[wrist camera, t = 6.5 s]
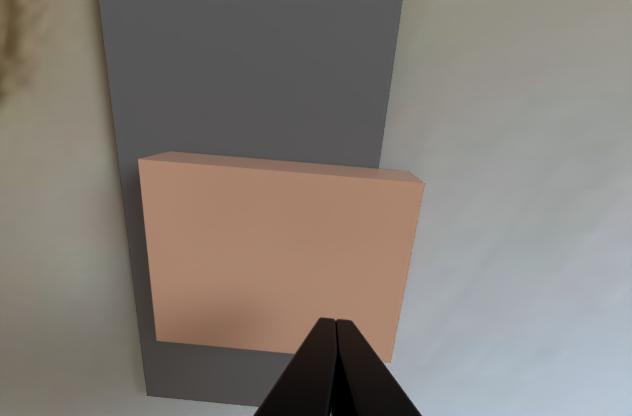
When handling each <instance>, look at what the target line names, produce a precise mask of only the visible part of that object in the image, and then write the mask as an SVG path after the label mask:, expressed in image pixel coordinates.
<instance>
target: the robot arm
mask: <svg viewBox="0 0 632 416" xmlns="http://www.w3.org/2000/svg"><path fill="white" fill-rule="evenodd" d="M330 413H331V416H422V415H421V414H420V412H419V411H418V410H417V408H416V407H415V406H414V404H413V403H412V401H411V400H410V399H409V397H408V396H407V395H406V393H405V392H404V391H403V389H402V388H401V386H400V385H399V384H398V382H397V381H396V380H395V378H394V377H393V376H392V374H391V373H390V371H389V370H388V369H387V367H386V366H385V365H384V363H383V362H382V361H381V359H380V358H379V356H378V355H377V354H376V352H375V351H374V350H373V348H372V347H371V346H370V344H369V343H368V341H367V340H366V339H365V337H364V336H363V335H362V333H361V332H360V331H359V329H358V328H357V326H356V325H355V324H354V322H353V321H352V320H347V319H337V320H336V321H335V319H334V318H325V317H320V318H319V319H318V320H317V322H316V323H315V325H314V326H313V328H312V329H311V331H310V332H309V334H308V335H307V337H306V338H305V340H304V341H303V343H302V344H301V346H300V347H299V348H298V350H297V351H296V353H295V354H294V356H293V357H292V359H291V360H290V362H289V363H288V365H287V366H286V368H285V369H284V371H283V372H282V374H281V375H280V377H279V378H278V380H277V381H276V383H275V384H274V386H273V387H272V389H271V390H270V392H269V393H268V395H267V396H266V398H265V399H264V401H263V402H262V404H261V405H260V407H259V408H258V410H257V411H256V413H255V414H254V416H330Z"/></svg>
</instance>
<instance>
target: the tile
mask: <svg viewBox="0 0 632 416" xmlns="http://www.w3.org/2000/svg"><path fill="white" fill-rule="evenodd" d="M138 165H139V174H140V184H141V194H142V203H143V213H144V223H145V232H146V242H147V252H148V261H149V271H150V281H151V290H152V300H153V310H154V319H155V329H156V339H157V341H165V342H175V343H186V344H196V345H207V346H217V347H228V348H239V349H249V350H260V351H270V352H281V353H291V354H295V353H296V351H297V350H298V348H299V347H300V346H301V344H302V343H303V341H304V340H305V338H306V337H307V335H308V334H309V332H310V331H311V329H312V328H313V326H314V325H315V323H316V322H317V320H318V319H319V318H320V317H325V318H334V319H335V321H336V320H337V319H347V320H352V321H353V322H354V324H355V325H356V326H357V328H358V329H359V331H360V332H361V333H362V335H363V336H364V337H365V339H366V340H367V341H368V343H369V344H370V346H371V347H372V348H373V350H374V351H375V352H376V354H377V355H378V356H379V358H380V359H381V361H382V362H386V363H391V358H392V353H393V348H394V343H395V338H396V332H397V327H398V322H399V317H400V311H401V306H402V301H403V296H404V291H405V285H406V280H407V275H408V270H409V264H410V259H411V254H412V249H413V244H414V238H415V233H416V228H417V223H418V218H419V212H420V207H421V202H422V197H423V191H424V186H425V183H424V182H423V181H421V180H420V179H419V178H417V177H416V176H415V175H413V174H412V173H411V172H409V171H400V170H388V169H376V168H364V167H352V166H340V165H328V164H316V163H304V162H292V161H280V160H268V159H256V158H244V157H232V156H221V155H209V154H197V153H185V152H173V151H169V152H165V153H161V154H157V155H153V156H149V157H144V158H140V159H138Z"/></svg>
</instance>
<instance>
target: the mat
mask: <svg viewBox="0 0 632 416" xmlns="http://www.w3.org/2000/svg"><path fill="white" fill-rule="evenodd" d="M402 1H403V0H99V7H100V15H101V23H102V32H103V40H104V48H105V56H106V64H107V73H108V81H109V89H110V97H111V105H112V113H113V122H114V130H115V138H116V146H117V154H118V162H119V171H120V179H121V187H122V195H123V203H124V212H125V220H126V228H127V236H128V244H129V252H130V261H131V269H132V277H133V285H134V293H135V302H136V310H137V318H138V326H139V334H140V342H141V351H142V359H143V367H144V375H145V383H146V392H147V396H154V397H164V398H174V399H184V400H195V401H205V402H215V403H225V404H235V405H245V406H255V407H260V405H261V404H262V402H263V401H264V399H265V398H266V396H267V395H268V393H269V392H270V390H271V389H272V387H273V386H274V384H275V383H276V381H277V380H278V378H279V377H280V375H281V374H282V372H283V371H284V369H285V368H286V366H287V365H288V363H289V362H290V360H291V359H292V357H293V356H294V354H291V353H281V352H270V351H260V350H249V349H239V348H228V347H217V346H207V345H196V344H186V343H175V342H165V341H157V339H156V329H155V319H154V310H153V300H152V290H151V281H150V271H149V261H148V252H147V242H146V232H145V223H144V213H143V203H142V194H141V184H140V174H139V165H138V159H140V158H144V157H149V156H153V155H157V154H161V153H165V152H169V151H173V152H185V153H197V154H209V155H221V156H232V157H244V158H256V159H268V160H280V161H292V162H304V163H316V164H328V165H340V166H352V167H364V168H376V169H379V162H380V155H381V148H382V141H383V134H384V127H385V120H386V113H387V106H388V99H389V92H390V85H391V78H392V71H393V64H394V57H395V50H396V43H397V36H398V29H399V22H400V15H401V8H402ZM330 414H331V413H330Z"/></svg>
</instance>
